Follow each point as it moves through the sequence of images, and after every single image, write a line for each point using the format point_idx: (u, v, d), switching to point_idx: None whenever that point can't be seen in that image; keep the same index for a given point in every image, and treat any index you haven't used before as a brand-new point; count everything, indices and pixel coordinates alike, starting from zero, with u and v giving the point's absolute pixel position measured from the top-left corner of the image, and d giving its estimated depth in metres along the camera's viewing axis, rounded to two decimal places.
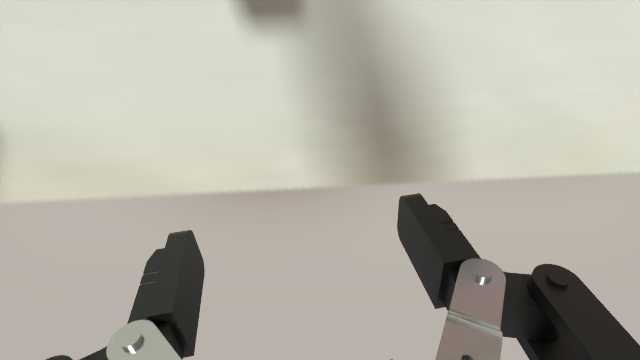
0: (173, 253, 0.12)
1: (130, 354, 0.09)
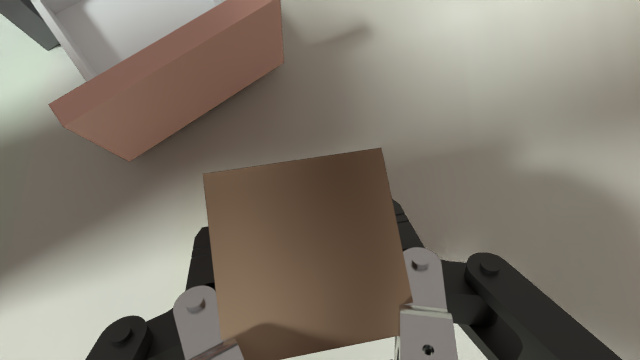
0: None
1: (196, 314, 0.09)
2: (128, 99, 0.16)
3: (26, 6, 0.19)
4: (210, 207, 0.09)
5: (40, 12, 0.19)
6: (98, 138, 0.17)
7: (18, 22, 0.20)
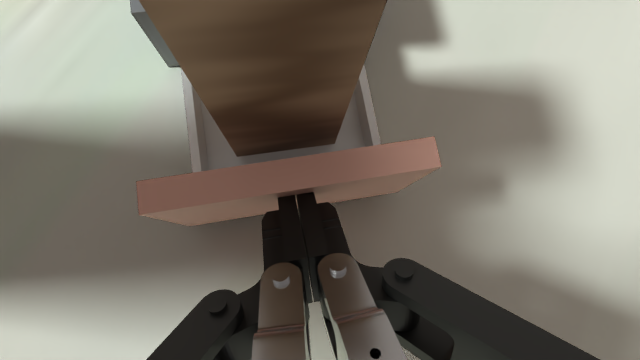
0: (288, 213, 0.13)
1: (284, 289, 0.10)
2: (221, 205, 0.13)
3: None
4: None
5: None
6: (170, 218, 0.14)
7: (154, 39, 0.18)
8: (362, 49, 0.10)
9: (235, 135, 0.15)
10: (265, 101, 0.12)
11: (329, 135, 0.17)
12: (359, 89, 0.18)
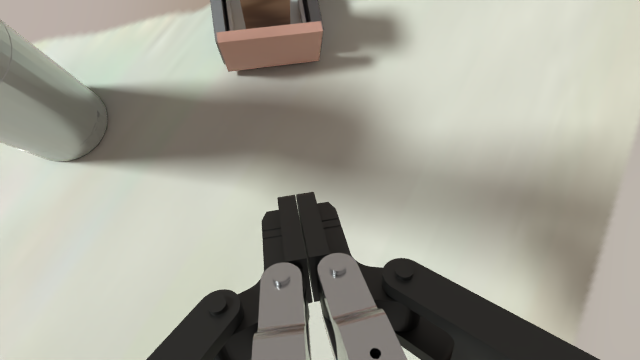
0: (288, 213, 0.13)
1: (284, 289, 0.10)
2: (244, 44, 0.37)
3: None
4: None
5: None
6: (224, 53, 0.39)
7: None
8: None
9: (249, 23, 0.39)
10: (260, 4, 0.36)
11: None
12: (300, 12, 0.42)
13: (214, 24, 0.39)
